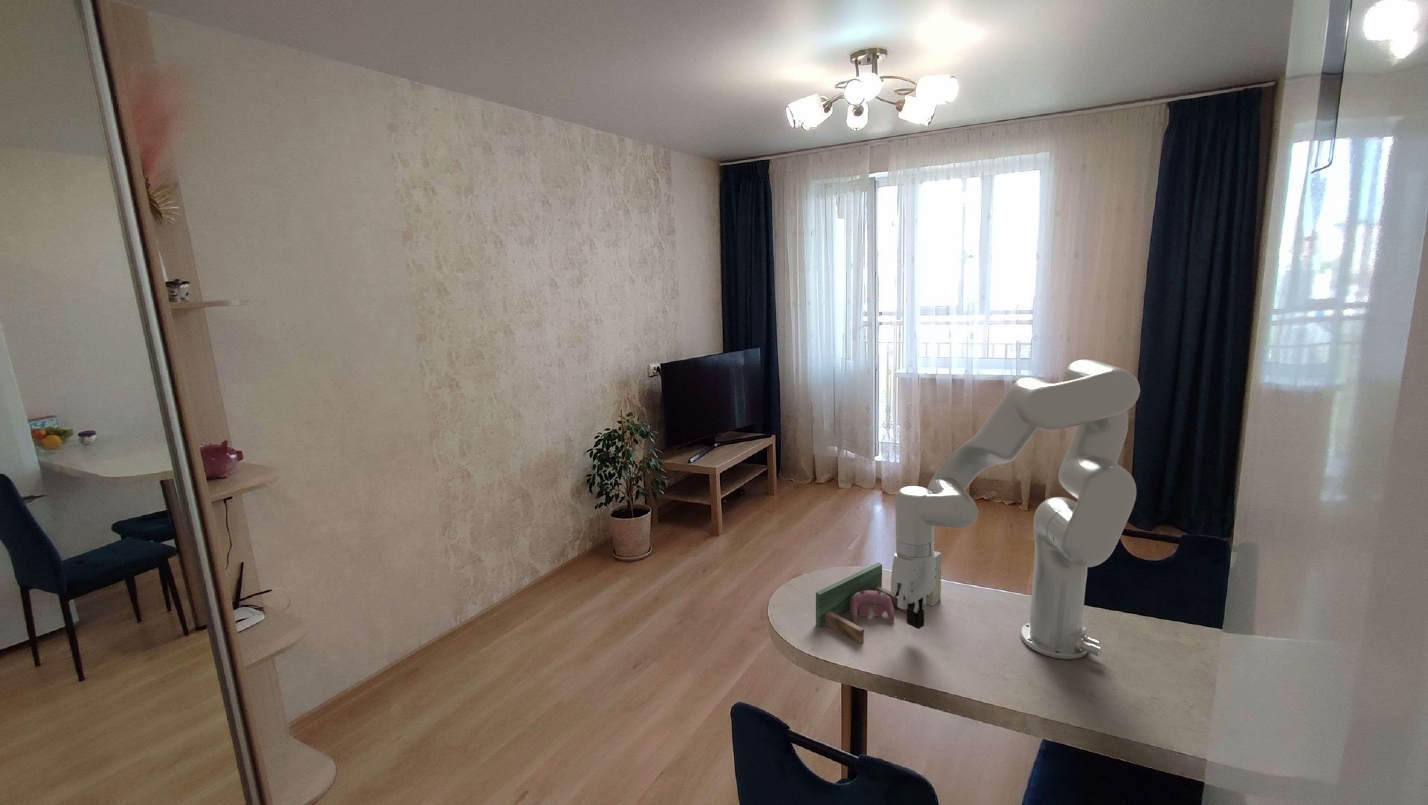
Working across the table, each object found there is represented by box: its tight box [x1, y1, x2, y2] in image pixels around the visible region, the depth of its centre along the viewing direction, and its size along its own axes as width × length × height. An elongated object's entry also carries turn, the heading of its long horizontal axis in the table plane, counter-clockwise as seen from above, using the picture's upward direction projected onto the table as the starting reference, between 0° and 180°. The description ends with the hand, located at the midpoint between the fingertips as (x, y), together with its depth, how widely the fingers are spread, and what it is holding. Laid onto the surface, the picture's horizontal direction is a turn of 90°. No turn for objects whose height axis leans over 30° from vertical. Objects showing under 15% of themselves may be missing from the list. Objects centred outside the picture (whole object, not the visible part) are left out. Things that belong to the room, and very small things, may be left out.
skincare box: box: [926, 550, 942, 607], centre depth 150 cm, size 6×4×12 cm
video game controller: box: [849, 590, 896, 624], centre depth 144 cm, size 10×5×7 cm, turn 86°
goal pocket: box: [815, 562, 907, 644], centre depth 143 cm, size 11×22×8 cm, turn 128°
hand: (915, 625), depth 134 cm, fingers closed
